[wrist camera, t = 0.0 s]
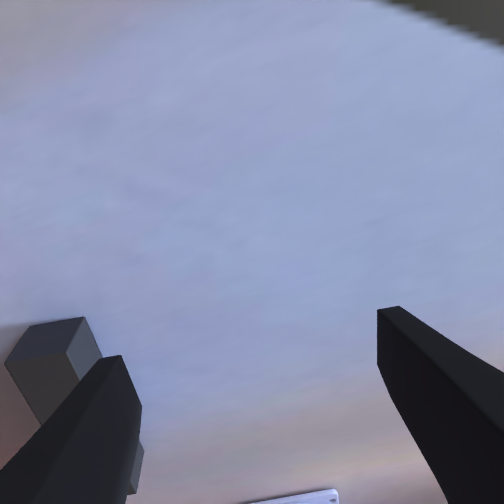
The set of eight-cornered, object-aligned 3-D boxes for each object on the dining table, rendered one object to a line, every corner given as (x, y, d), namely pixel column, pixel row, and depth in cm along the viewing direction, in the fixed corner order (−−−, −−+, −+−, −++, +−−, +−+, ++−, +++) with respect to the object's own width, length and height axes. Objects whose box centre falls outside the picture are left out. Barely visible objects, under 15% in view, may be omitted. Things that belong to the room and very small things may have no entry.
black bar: (144, 451, 27) (136, 494, 24) (100, 459, 27) (87, 502, 24) (85, 315, 21) (66, 352, 19) (29, 325, 21) (2, 363, 19)
